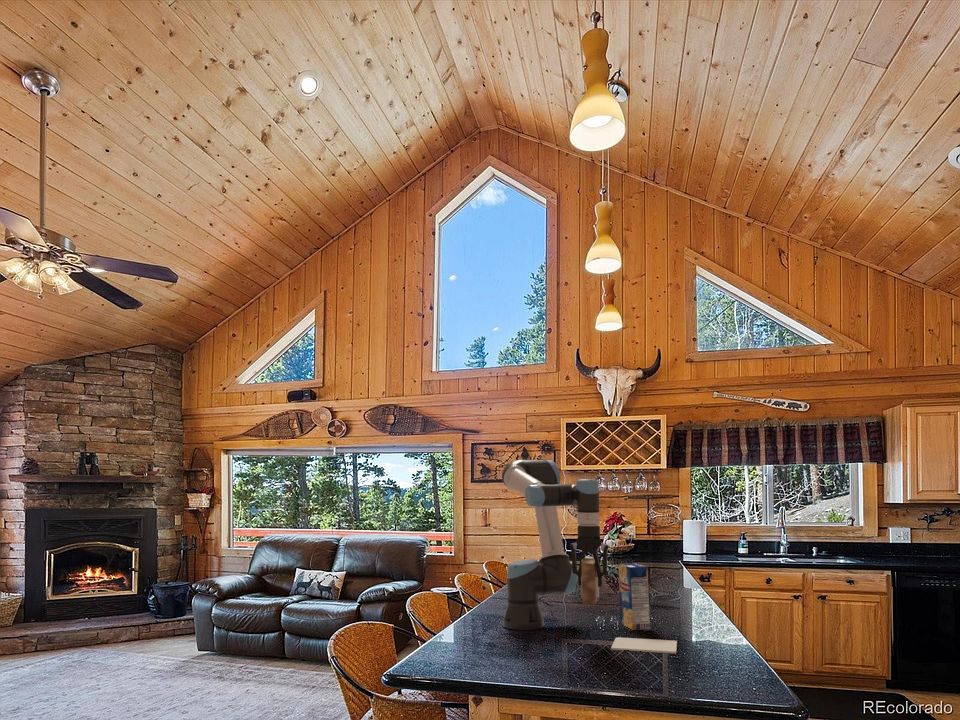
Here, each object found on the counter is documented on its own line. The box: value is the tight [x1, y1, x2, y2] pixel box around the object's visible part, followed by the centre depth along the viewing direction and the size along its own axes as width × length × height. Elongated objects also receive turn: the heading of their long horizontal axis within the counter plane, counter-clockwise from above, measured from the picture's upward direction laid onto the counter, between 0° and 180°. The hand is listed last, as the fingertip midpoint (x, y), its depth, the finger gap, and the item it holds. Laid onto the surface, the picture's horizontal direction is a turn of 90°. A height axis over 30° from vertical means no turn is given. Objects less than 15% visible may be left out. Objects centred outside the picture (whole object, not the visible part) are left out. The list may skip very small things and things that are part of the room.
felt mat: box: [610, 637, 678, 655], centre depth 227 cm, size 20×15×1 cm
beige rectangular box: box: [581, 555, 599, 606], centre depth 235 cm, size 4×10×14 cm, turn 164°
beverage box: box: [618, 562, 651, 631], centre depth 257 cm, size 7×11×22 cm, turn 11°
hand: (590, 596), depth 235 cm, fingers closed on beige rectangular box, 4 cm apart
